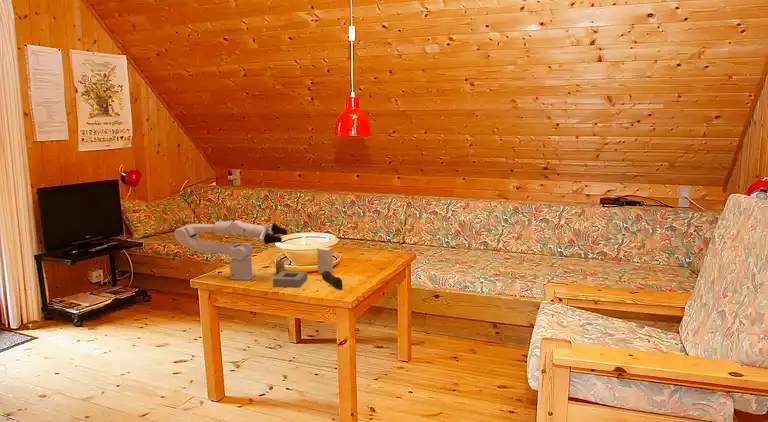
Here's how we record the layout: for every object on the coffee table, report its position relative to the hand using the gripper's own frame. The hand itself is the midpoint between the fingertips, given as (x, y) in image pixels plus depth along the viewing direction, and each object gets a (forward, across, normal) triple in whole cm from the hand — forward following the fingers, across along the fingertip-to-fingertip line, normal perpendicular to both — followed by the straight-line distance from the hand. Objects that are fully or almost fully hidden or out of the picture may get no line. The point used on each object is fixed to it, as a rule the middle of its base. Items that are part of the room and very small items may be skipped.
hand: (284, 236), depth 249 cm
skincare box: (+19, +6, +19) cm, 27 cm away
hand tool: (+27, -10, +14) cm, 32 cm away
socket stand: (+7, -10, +17) cm, 21 cm away
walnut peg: (-2, +2, +22) cm, 22 cm away
